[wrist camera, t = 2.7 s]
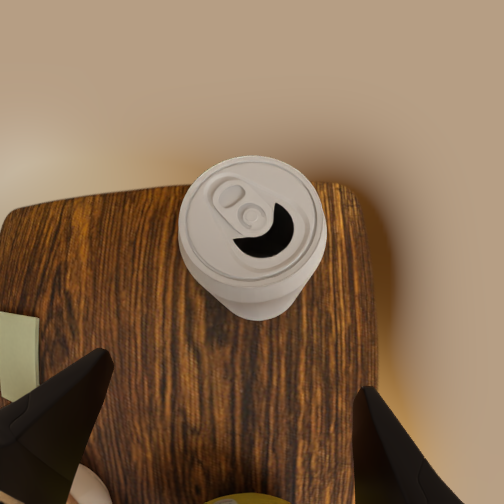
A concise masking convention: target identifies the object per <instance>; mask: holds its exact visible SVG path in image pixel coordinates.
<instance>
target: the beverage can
mask: <svg viewBox="0 0 504 504" xmlns="http://www.w3.org/2000/svg"><path fill="white" fill-rule="evenodd" d="M326 238H327V228H326V221H325V216H324V213H323V210H322V205H321V202H320V199H319V196H318V194H317V192H316V190H315V188H314V187H313V186H312V184H311V183H310V181H309V180H308V179H307V178H306V177H305V176H304V175H303V174H302V173H300V172H299V171H298V170H297V169H295V168H294V167H292V166H290V165H289V164H287V163H285V162H282V161H280V160H277V159H274V158H270V157H265V156H241V157H236V158H231V159H228V160H225V161H222V162H220V163H218V164H216V165H214V166H212V167H211V168H209V169H208V170H206V171H205V172H204V173H203V174H201V175H200V176H199V177H198V178H197V179H196V180H195V181H194V183H193V184H192V185H191V186H190V188H189V189H188V191H187V193H186V195H185V197H184V199H183V202H182V205H181V208H180V213H179V231H178V240H179V247H180V252H181V255H182V258H183V260H184V263H185V265H186V267H187V268H188V270H189V271H190V273H191V274H192V276H193V277H194V278H195V279H196V280H197V281H198V282H199V283H200V284H201V285H202V286H203V287H204V288H205V289H206V290H207V291H208V292H210V293H211V294H212V295H213V296H214V297H215V298H216V299H217V300H219V301H220V302H221V303H222V304H223V305H224V306H225V307H226V308H228V309H229V310H230V311H231V312H233V313H234V314H236V315H237V316H239V317H242V318H244V319H248V320H255V321H261V320H266V319H271V318H274V317H276V316H278V315H280V314H282V313H283V312H284V311H286V310H287V309H288V308H289V307H290V306H291V304H292V303H293V302H294V300H295V299H296V297H297V296H298V295H299V293H300V292H301V290H302V289H303V287H304V286H305V284H306V283H307V281H308V280H309V279H310V277H311V276H312V274H313V273H314V271H315V270H316V268H317V266H318V265H319V263H320V261H321V258H322V256H323V253H324V250H325V245H326Z"/></svg>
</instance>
